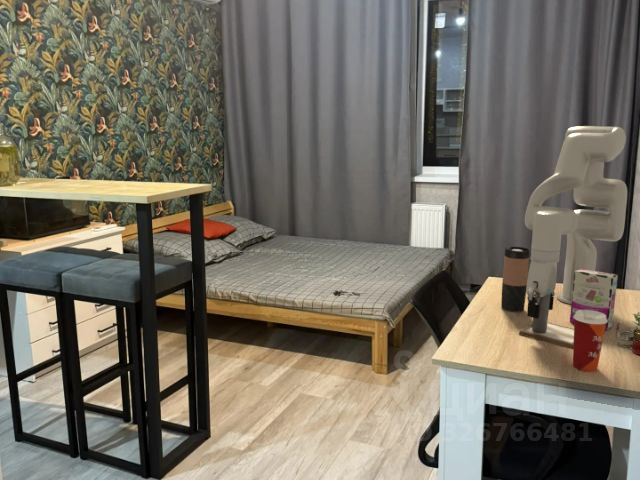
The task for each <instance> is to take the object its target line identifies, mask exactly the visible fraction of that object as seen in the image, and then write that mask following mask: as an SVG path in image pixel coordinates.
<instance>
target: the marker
mask: <svg viewBox="0 0 640 480" xmlns="http://www.w3.org/2000/svg"><path fill="white" fill-rule="evenodd" d="M537 294H539V293H537ZM550 294H551V289H549V290H548V292H547V295H545V296H543V297H541V299H540V302H539V305H540V310H539V318H532V322H531V324H532V331H533V332H536V333H546V331H547V323H549V322H548V321H549V312H550V310H549V303H550ZM534 297H535V296H534ZM535 298H536V299H537V297H535Z"/></svg>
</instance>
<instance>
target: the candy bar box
mask: <svg viewBox="0 0 640 480" xmlns="http://www.w3.org/2000/svg"><path fill="white" fill-rule="evenodd" d="M618 278H619V275H618V274H615V273H610V272H604V271H603V272H602V271H598V270H595V271H592V270H586V269H578V270H576V271H575V272H574V283H573V293H572V304H570V305H571V307H570V313H569V314H570V315H569V322H570V323H573V324H574V321H575V319H574V318H573V316H574V315H575V313H576V311H578V310H593V311H598V312H601V313H603V314H605V315H606V319H607V321H608V322H607V323H606V325H605V331H608V330H610V329H611V328H612V327H613V323H614V315H615V314H614V313H615V306H616V303H615V302H616V295H617V286H618Z"/></svg>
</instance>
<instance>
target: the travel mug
mask: <svg viewBox="0 0 640 480" xmlns="http://www.w3.org/2000/svg"><path fill="white" fill-rule="evenodd" d="M504 248H505V249H504V258H503V259H504V261H503V270H502V283H501V303H500V304H501V307H500V308H501V309H502V310H505V311H508V312H516V313H517V312H523V311H524V309H525V305H526V298H527V297H526V296H527V293H526V288H527V280H528V273H529V266H530V264H529V263H530V253H531V249H528V247H527V248H526V247H523V246H510V247H508V248H507V247H504Z"/></svg>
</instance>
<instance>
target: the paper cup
mask: <svg viewBox="0 0 640 480" xmlns="http://www.w3.org/2000/svg"><path fill="white" fill-rule="evenodd" d="M573 318H574V319H575V321H574V323H573V324H574V327H573V329H574V345H573V348H572V351H573V352H572V366H573V368H575V369H577V370H579V371H583V372H589V373H591V372H596V371H597V370H598V367H599V362H600V357H601V352H602V346H603V340H604V335H605V331H606V330H605V325H606V323H607V322H608V321H607V319H606V315H605V314H603V313H601V312H598V311H593V310H578V311H576V313H575V315H574V316H573Z"/></svg>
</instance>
